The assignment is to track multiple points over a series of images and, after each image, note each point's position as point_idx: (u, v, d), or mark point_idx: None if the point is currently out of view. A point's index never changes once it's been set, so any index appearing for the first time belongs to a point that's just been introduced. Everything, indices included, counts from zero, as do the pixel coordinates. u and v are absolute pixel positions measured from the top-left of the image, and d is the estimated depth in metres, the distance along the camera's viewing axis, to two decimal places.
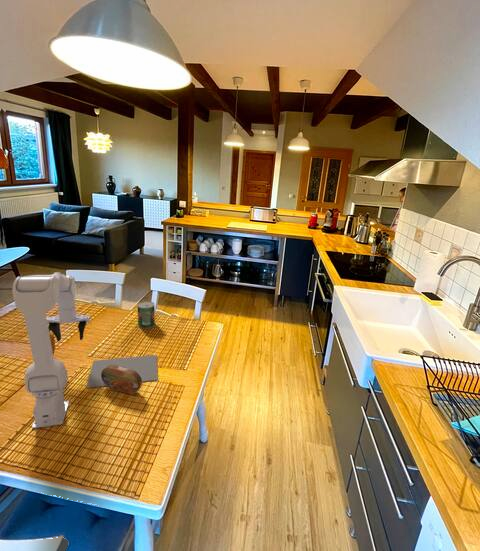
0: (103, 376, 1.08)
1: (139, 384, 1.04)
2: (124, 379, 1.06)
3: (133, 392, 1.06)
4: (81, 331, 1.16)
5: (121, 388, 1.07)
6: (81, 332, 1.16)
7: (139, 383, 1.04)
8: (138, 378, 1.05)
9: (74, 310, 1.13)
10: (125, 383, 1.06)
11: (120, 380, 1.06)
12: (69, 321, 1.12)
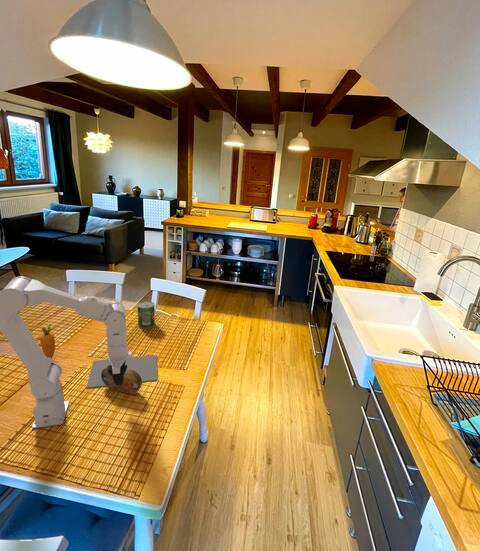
0: (103, 376, 1.08)
1: (139, 384, 1.04)
2: (124, 379, 1.05)
3: (133, 392, 1.06)
4: None
5: (121, 388, 1.07)
6: (112, 376, 0.95)
7: (139, 383, 1.04)
8: (138, 378, 1.05)
9: (113, 350, 0.93)
10: (125, 383, 1.06)
11: None
12: (108, 357, 0.95)
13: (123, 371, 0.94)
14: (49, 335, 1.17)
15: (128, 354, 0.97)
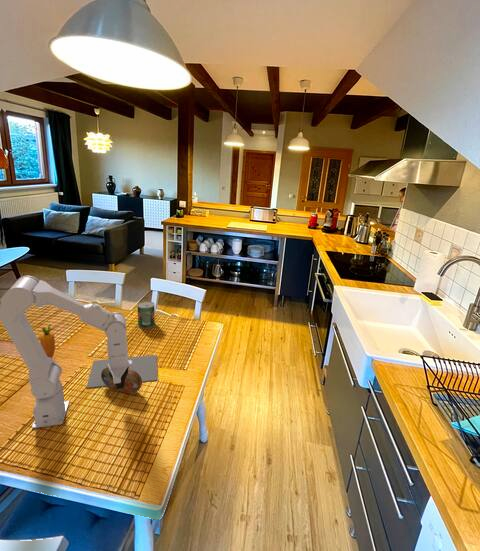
0: (103, 376, 1.08)
1: (139, 384, 1.04)
2: None
3: (133, 392, 1.06)
4: None
5: (121, 388, 1.07)
6: None
7: (139, 383, 1.04)
8: (138, 378, 1.05)
9: (114, 360, 0.94)
10: (125, 383, 1.06)
11: None
12: (109, 367, 0.96)
13: (124, 375, 0.97)
14: (49, 335, 1.17)
15: (129, 363, 0.98)
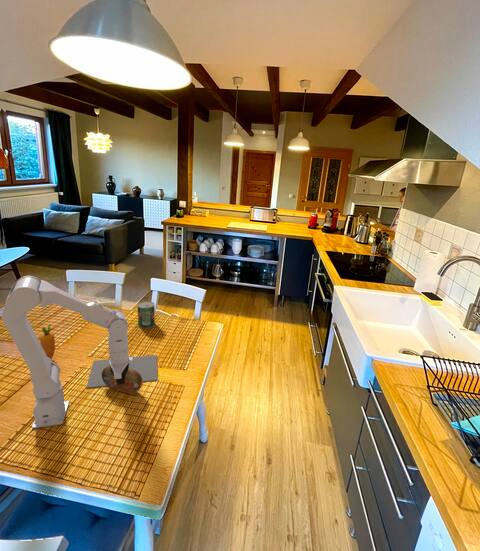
0: (103, 375, 1.08)
1: (139, 384, 1.05)
2: (125, 379, 1.06)
3: (133, 392, 1.06)
4: None
5: (121, 388, 1.07)
6: None
7: (139, 382, 1.05)
8: (139, 378, 1.05)
9: (115, 356, 0.97)
10: (125, 383, 1.06)
11: None
12: (110, 363, 0.99)
13: (125, 371, 1.00)
14: (49, 335, 1.17)
15: (129, 360, 1.01)
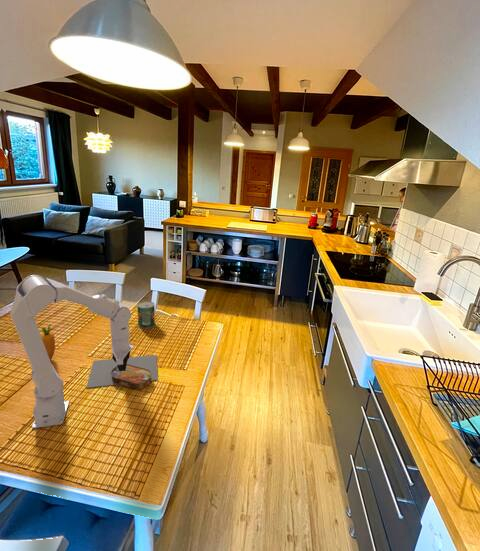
0: (114, 370, 1.14)
1: (150, 379, 1.11)
2: (136, 373, 1.13)
3: (139, 383, 1.08)
4: None
5: (127, 379, 1.10)
6: None
7: (150, 378, 1.12)
8: None
9: (117, 344, 1.03)
10: (135, 376, 1.11)
11: (131, 374, 1.12)
12: (112, 350, 1.05)
13: (126, 358, 1.06)
14: (49, 335, 1.17)
15: (130, 347, 1.07)
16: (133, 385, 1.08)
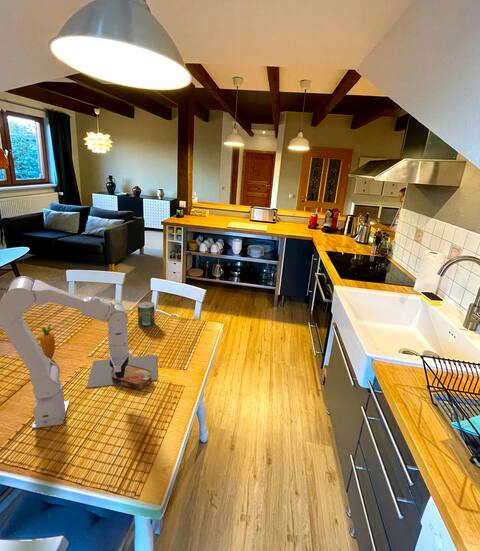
0: None
1: (150, 379, 1.11)
2: (136, 373, 1.13)
3: (139, 383, 1.08)
4: None
5: (127, 379, 1.10)
6: (114, 370, 1.00)
7: (150, 378, 1.12)
8: None
9: (115, 349, 0.96)
10: (135, 376, 1.11)
11: (131, 374, 1.12)
12: (109, 356, 0.98)
13: (124, 365, 0.99)
14: (49, 335, 1.17)
15: (129, 353, 1.00)
16: (133, 385, 1.08)
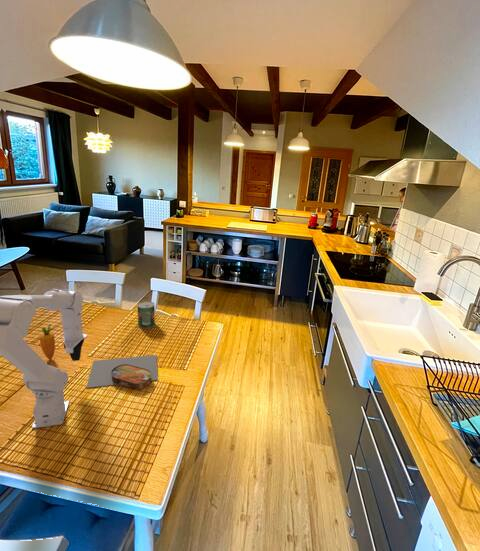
0: (114, 370, 1.14)
1: (150, 379, 1.11)
2: (136, 373, 1.13)
3: (139, 383, 1.08)
4: None
5: (127, 379, 1.10)
6: None
7: (150, 378, 1.12)
8: None
9: (68, 332, 1.00)
10: (135, 376, 1.11)
11: (131, 374, 1.12)
12: (63, 339, 1.02)
13: (78, 347, 1.04)
14: (49, 335, 1.17)
15: (83, 336, 1.04)
16: (133, 385, 1.08)
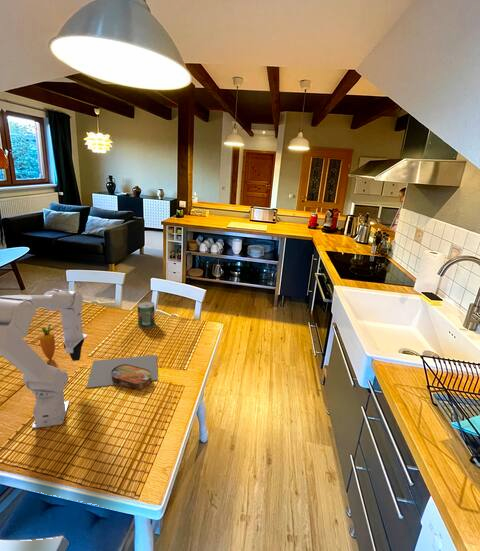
0: (114, 370, 1.14)
1: (150, 379, 1.11)
2: (136, 373, 1.13)
3: (139, 383, 1.08)
4: None
5: (127, 379, 1.10)
6: None
7: (150, 378, 1.12)
8: None
9: (68, 332, 1.00)
10: (135, 376, 1.11)
11: (131, 374, 1.12)
12: (63, 339, 1.02)
13: (78, 347, 1.04)
14: (49, 335, 1.17)
15: (83, 336, 1.04)
16: (133, 385, 1.08)
